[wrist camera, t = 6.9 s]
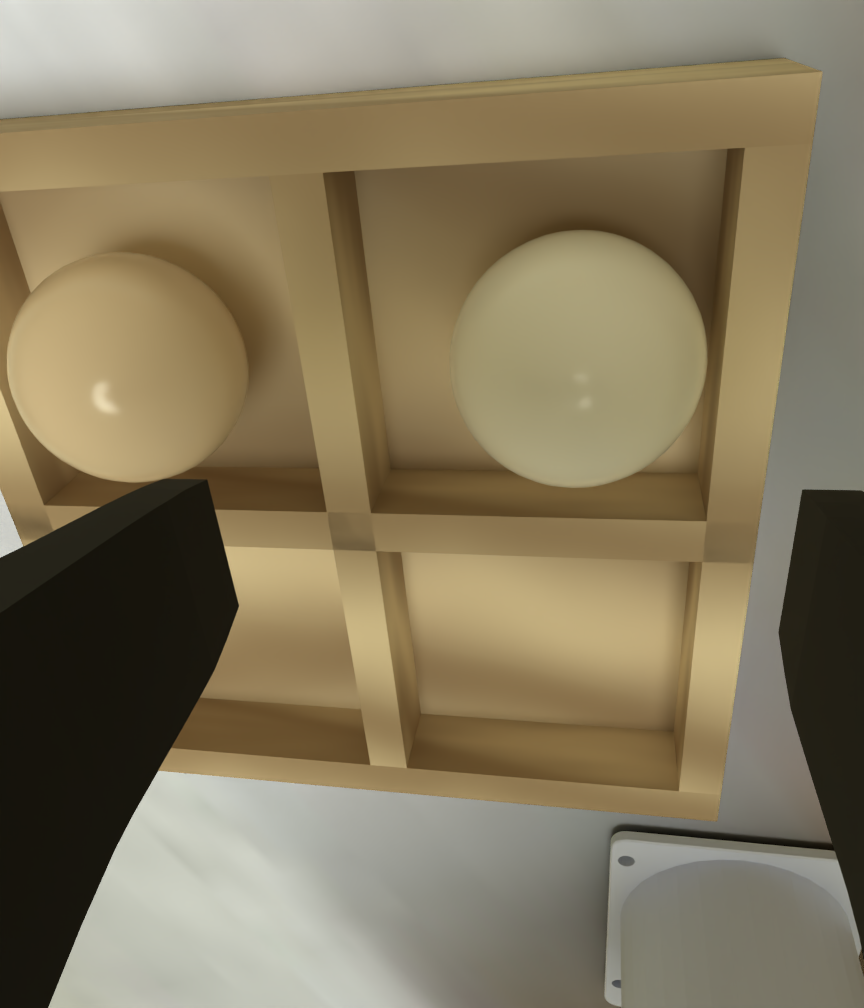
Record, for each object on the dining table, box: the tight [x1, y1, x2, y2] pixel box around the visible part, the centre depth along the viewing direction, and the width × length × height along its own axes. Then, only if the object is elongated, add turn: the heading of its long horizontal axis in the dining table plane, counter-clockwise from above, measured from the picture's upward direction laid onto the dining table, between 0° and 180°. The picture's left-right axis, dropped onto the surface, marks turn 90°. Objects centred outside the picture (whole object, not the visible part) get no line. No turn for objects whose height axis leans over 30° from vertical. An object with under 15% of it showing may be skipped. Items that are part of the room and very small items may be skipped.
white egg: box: [449, 230, 707, 488], centre depth 15 cm, size 5×5×5 cm
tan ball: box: [7, 252, 249, 483], centre depth 17 cm, size 5×5×5 cm
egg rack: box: [0, 58, 822, 821], centre depth 20 cm, size 17×17×3 cm
